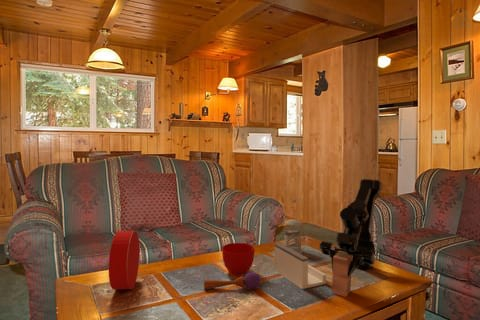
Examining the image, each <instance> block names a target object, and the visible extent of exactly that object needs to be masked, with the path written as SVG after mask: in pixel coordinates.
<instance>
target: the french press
mask: <svg viewBox="0 0 480 320" xmlns="http://www.w3.org/2000/svg"><path fill="white" fill-rule="evenodd" d="M291 203H293V206H292V207H293V208H292V209H293V210H292V216H294V213H295V211H294V209H295V207H294V206H295V205H294V204H295V203H296V200H295V199H291ZM302 223H303V222H301V221H300V220H298V219H294V218H292V219H288V220H285V221H284V224H285V225H287V226H289V227H290V226H291V227H298V226H300V228H303V229H304V230H305V233H306V234H305V237H304V238H302V234H301V230H299V229H295V228H289V229H285V233H284V243H283V245H284V246H286V247H288V248H290V249H292V250H294V251H296V252H298V253H299V254H302V253H303V252H304V251H303V249H302V242H304V241H306V239H307V238H308V231H307V229H306V227H305V226H303V225H302Z"/></svg>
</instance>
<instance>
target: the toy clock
mask: <svg viewBox="0 0 480 320" xmlns="http://www.w3.org/2000/svg"><path fill="white" fill-rule="evenodd" d="M139 238H140V237H139V234H138V231H136V230H117V231H116V232H115V234H114V236H113V238H112V242H111V245H110V250H109V255H108V256H109V257H108V279H109V284H110V287H111V289H112V290H133V289H134V287H135V285H136V282H137V278H138V272H139V266H140V265H139V264H140V239H139Z"/></svg>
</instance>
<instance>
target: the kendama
mask: <svg viewBox="0 0 480 320" xmlns="http://www.w3.org/2000/svg"><path fill="white" fill-rule="evenodd" d="M231 285H235V286H237V287H240V288H244V286H245V288H246V289H248V290H250V291H254V290H257V289H258V288H259V286H260V285H261V277H260V276H259V274H257V273H256V272H252V271H251V272H248V273H246V274H244V276H243V275H240V277H238V278H235V279H234V280H215V279H214V280H210V279H207V280H206V279H204V280H203V287H204V291H207V290H212V289H216V288H221V287H227V286H231Z"/></svg>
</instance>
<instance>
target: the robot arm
mask: <svg viewBox="0 0 480 320" xmlns="http://www.w3.org/2000/svg"><path fill="white" fill-rule="evenodd" d="M359 182H360V183H359V187H358V191H357V194H356V196H355V200H354V201H353V202H351V203H349V205H347V207H344V208H342V209H341V211H340V213H339V216H340V220H341V223H342V225H343V226H344V229H343V232H337V233H336V234H337V235H336V239H335V242H337V246H338V247H337V246H335V245H333V243H332V242H329V241H325V240H323V241H321V242H319V243H320V244H319V249H320V251H321V253H322V254H323V255H325V256H329V258H330V259H331V271H332V273H333V257H334V256H335V255H336V254H337V253H338V251H343V252H348V255H350V256H352V262H351V265H350V268H349V271H348V276H350V275H351V276H352V275H353V273H354V272H355V271H356V269H360V270H361V271H368V270H372V269H373V268H374V264H375V259H376V258H375V256H376V247H375V242H374V238H373V236H372V234H371V228H372V221H373V214H374V209H375V203H376V200H377V199H378V198H379V196H380V194H381V192H382V190H383V182H381V181H380V180H379V179H372V178H371V179H369V178H363V179H361V180H360V181H359Z"/></svg>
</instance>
